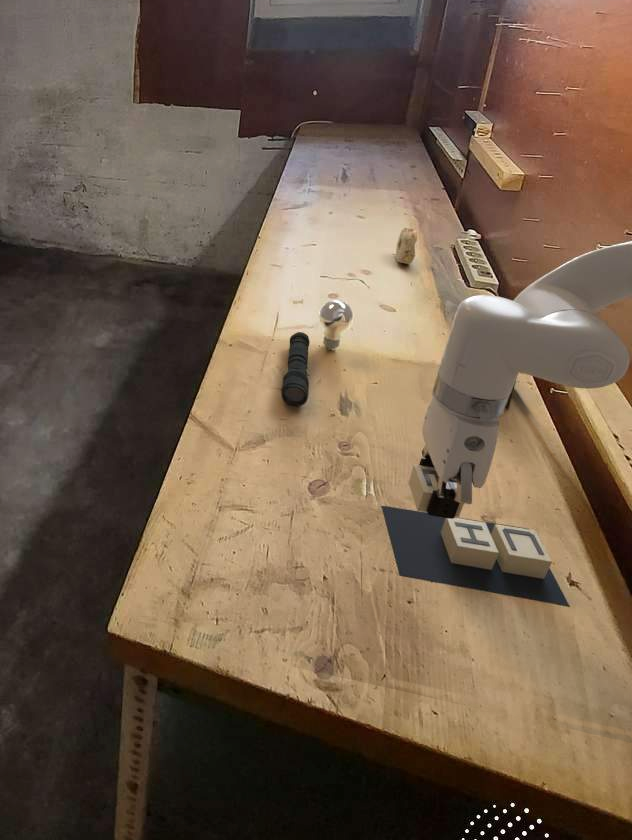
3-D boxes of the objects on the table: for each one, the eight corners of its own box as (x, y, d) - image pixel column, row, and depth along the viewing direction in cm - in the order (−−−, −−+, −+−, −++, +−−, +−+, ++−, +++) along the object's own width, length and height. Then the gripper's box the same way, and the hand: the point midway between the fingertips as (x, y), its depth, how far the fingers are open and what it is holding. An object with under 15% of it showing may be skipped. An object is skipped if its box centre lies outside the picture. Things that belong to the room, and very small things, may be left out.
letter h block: (478, 539, 81) (485, 521, 79) (491, 570, 77) (499, 552, 75) (440, 532, 82) (446, 515, 81) (451, 563, 78) (457, 545, 76)
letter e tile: (447, 488, 79) (453, 469, 77) (459, 517, 74) (466, 498, 73) (408, 482, 80) (413, 463, 78) (417, 510, 75) (423, 491, 74)
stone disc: (392, 253, 169) (399, 222, 164) (406, 254, 168) (413, 223, 163) (397, 268, 160) (405, 235, 156) (412, 269, 159) (420, 237, 155)
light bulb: (347, 359, 122) (357, 312, 116) (313, 354, 124) (321, 307, 118) (345, 342, 128) (355, 296, 122) (313, 338, 130) (321, 292, 124)
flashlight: (279, 404, 109) (282, 383, 107) (286, 347, 127) (289, 328, 124) (306, 409, 108) (309, 388, 106) (310, 351, 125) (313, 332, 123)
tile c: (527, 547, 80) (535, 529, 78) (544, 579, 75) (552, 561, 74) (488, 540, 81) (495, 523, 79) (501, 571, 76) (509, 554, 75)
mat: (528, 530, 82) (529, 528, 82) (569, 608, 72) (570, 606, 72) (380, 507, 87) (381, 505, 87) (399, 577, 77) (399, 575, 76)
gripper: (535, 446, 61) (487, 558, 69) (478, 356, 75) (444, 457, 83) (458, 435, 62) (419, 546, 70) (417, 350, 77) (389, 449, 85)
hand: (433, 497), depth 77 cm, fingers closed on letter e tile, 5 cm apart
